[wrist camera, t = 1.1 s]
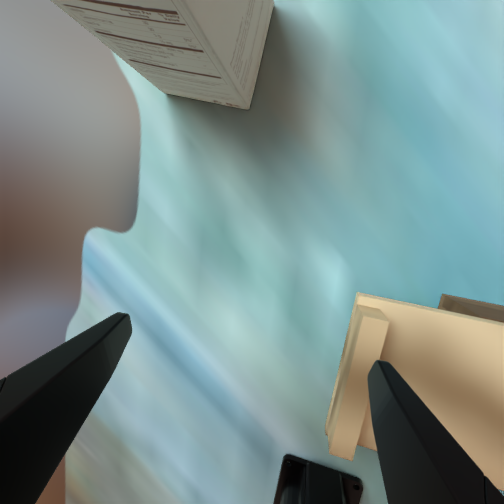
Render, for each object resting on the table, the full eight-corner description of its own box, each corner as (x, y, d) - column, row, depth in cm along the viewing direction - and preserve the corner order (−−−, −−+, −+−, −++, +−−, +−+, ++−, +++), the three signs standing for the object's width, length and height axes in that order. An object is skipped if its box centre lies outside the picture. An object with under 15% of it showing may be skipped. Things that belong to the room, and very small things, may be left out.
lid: (525, 487, 15) (567, 541, 12) (325, 426, 17) (327, 461, 14) (585, 339, 13) (646, 367, 11) (356, 291, 15) (365, 306, 13)
